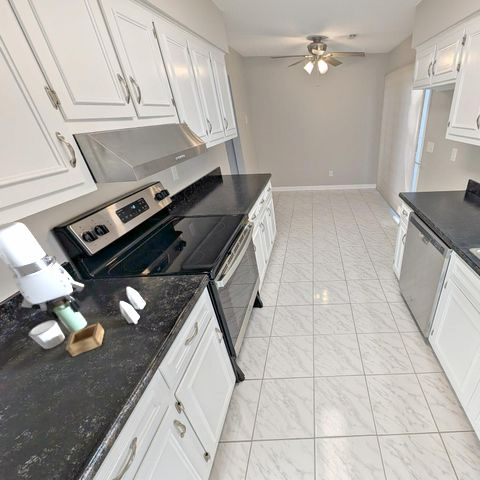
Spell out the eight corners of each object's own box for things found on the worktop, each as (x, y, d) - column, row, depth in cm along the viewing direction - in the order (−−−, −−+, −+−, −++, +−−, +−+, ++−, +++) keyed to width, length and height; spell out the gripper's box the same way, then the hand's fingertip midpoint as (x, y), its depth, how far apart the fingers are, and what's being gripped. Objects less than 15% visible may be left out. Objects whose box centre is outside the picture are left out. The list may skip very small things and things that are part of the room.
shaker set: (138, 303, 102) (126, 282, 97) (149, 301, 103) (137, 280, 98) (124, 326, 92) (110, 303, 87) (137, 323, 93) (123, 300, 87)
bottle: (67, 334, 80) (45, 307, 74) (71, 325, 84) (50, 298, 78) (85, 328, 82) (65, 301, 76) (88, 319, 85) (69, 293, 80)
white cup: (36, 347, 86) (23, 333, 83) (60, 332, 92) (49, 318, 88) (47, 353, 84) (34, 338, 80) (71, 336, 89) (60, 322, 86)
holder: (72, 356, 82) (65, 348, 80) (77, 340, 88) (71, 332, 86) (101, 345, 85) (95, 337, 83) (104, 330, 91) (98, 322, 89)
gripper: (72, 250, 77) (102, 295, 86) (-4, 270, 70) (36, 317, 79) (66, 261, 72) (98, 308, 80) (-18, 284, 65) (27, 333, 73)
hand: (67, 312), depth 80 cm, fingers closed on bottle, 4 cm apart
